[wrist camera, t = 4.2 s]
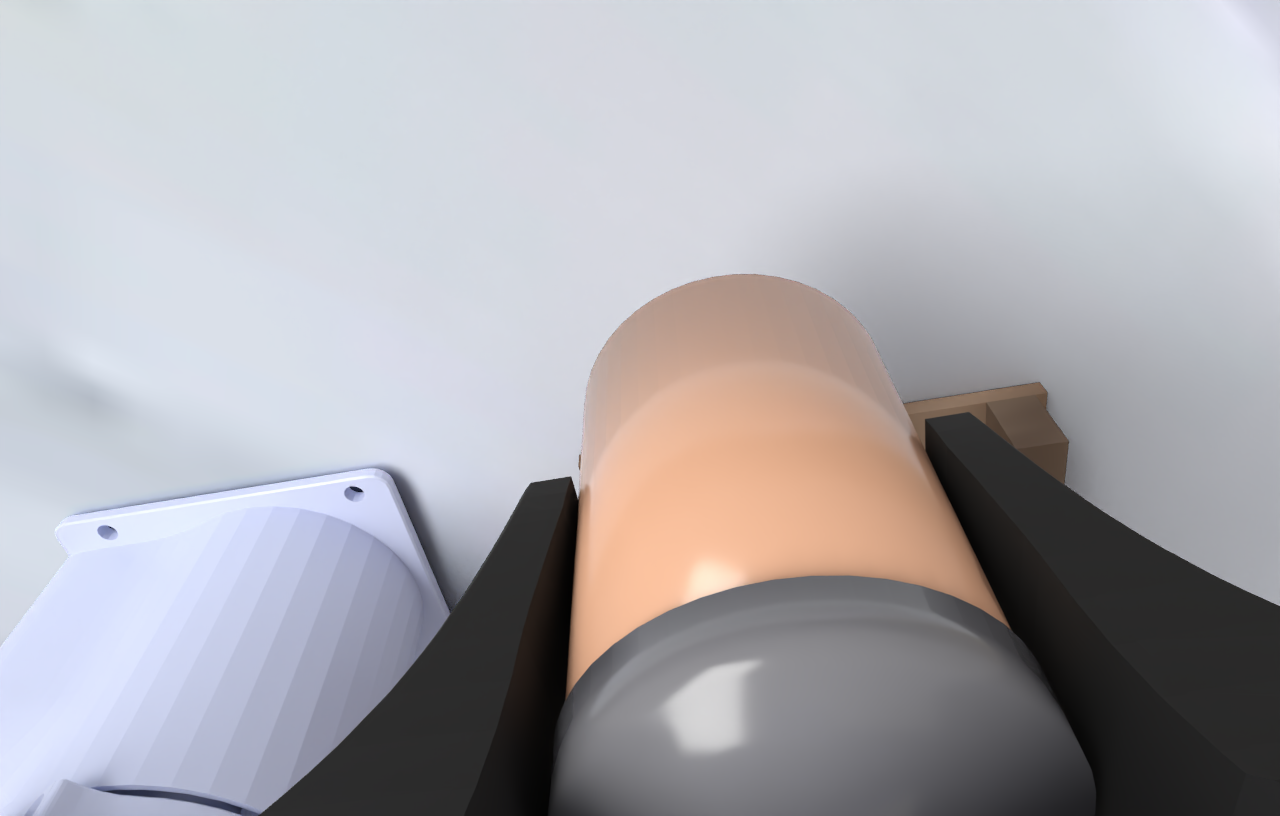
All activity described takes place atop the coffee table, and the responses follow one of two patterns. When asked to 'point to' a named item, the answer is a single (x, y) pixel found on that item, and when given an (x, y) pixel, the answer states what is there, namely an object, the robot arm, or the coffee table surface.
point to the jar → (784, 588)
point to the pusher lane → (1004, 421)
